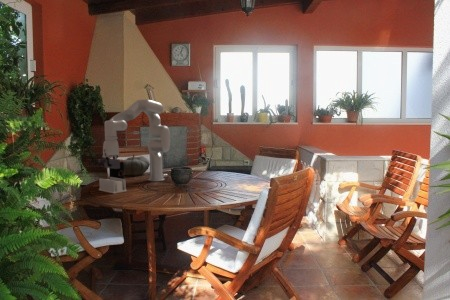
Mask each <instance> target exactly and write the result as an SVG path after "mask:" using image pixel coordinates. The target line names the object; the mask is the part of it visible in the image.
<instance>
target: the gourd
mask: <svg viewBox="0 0 450 300" xmlns="http://www.w3.org/2000/svg"><path fill="white" fill-rule="evenodd" d="M123 160H124V162H123V163H124V176H129V177H130V176H131V177H132V176H141V175H143V174H145V173H146V172H147V171H148V170H149V169H150V159H148V158H147V157H145V156H143V155H141V156H140V155H139V156H135V154H133V155H132V156H130V157H127V158H126V159H123Z"/></svg>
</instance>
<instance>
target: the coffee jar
mask: <svg viewBox="0 0 450 300" xmlns="http://www.w3.org/2000/svg"><path fill="white" fill-rule="evenodd" d="M124 160H125V159H121V158H120V168H119V169H113V168H108V170H109V174H108V175H109V178H110V177H115V178H120V179H126V175H124V163H123V162H124Z"/></svg>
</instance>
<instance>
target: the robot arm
mask: <svg viewBox="0 0 450 300" xmlns="http://www.w3.org/2000/svg"><path fill="white" fill-rule="evenodd" d="M163 111H164V106H163V104H162V103H161V102H159V101H155V100H152V99H146V98H145V99H137V100H135V101H134V102H133V103H132V104H131V105H130V106H129V107H128V108H127V109H125V110H123V111H120V112H118V113H117V114H115V115H113V116H112V117H111V118H110V119H109V120H105V121H104V141H103V146H102V156H101V157H102V159H106V160H107V165H108V166H110V167H111V164H109V160H110V159H111V157H112V159H118V157H120V156H121V153H120V146H119V142H118V140H117V139H119V137H118V135H117V132H123V131H125V130H127V128H128V122H129V121H132V120H135V119H136V118H137V117H138V116H139V115H141V113H143V112H144V114H146V115H145V116H146V117H148V120H149V121H148V122H149V135H150V137H151V138H153V139H150V140H149V141H148V142H147V149H148V153H149V163H150V165H149V178H148V179H147V180H148V181H149V182H162V181H165V178H166V177H168V173H163V156H162V153H167V152H169V151H170V149H171V148H170V147H171V133H170V131H171V130H170V128H169V127H168V126H167V125H162V123H161V122H162V121H161V117H160V115H161V114H162V113H163ZM154 138H156V139H154ZM164 177H165V178H164Z"/></svg>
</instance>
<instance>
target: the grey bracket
mask: <svg viewBox="0 0 450 300" xmlns="http://www.w3.org/2000/svg"><path fill="white" fill-rule="evenodd" d="M120 159H121V158H120ZM120 159H118V158H117V159H113V158H110V160H109V164H111V167H110V166H108V165H107V160H106V159H105V158H100V159H98V163H99V164H102V163H103V165H104V168H107V169H109V168H113V169H119V168H120Z"/></svg>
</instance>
